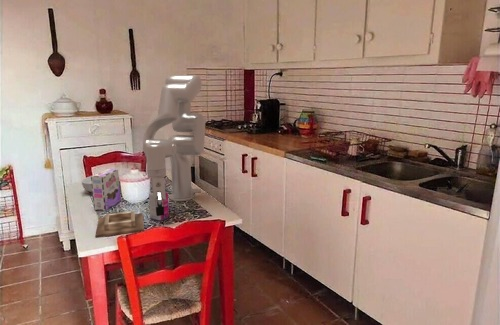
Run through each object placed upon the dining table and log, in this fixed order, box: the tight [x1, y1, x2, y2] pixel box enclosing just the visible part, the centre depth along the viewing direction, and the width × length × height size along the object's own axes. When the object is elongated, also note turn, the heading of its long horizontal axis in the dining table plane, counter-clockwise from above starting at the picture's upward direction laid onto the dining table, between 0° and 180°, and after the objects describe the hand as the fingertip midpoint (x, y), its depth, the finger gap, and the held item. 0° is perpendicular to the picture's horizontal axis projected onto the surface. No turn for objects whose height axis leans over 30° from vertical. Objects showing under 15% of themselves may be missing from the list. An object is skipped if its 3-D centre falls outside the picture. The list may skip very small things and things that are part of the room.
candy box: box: [90, 168, 122, 212], centre depth 174 cm, size 14×6×16 cm, turn 168°
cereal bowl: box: [81, 175, 93, 193], centre depth 196 cm, size 17×17×7 cm
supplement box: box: [148, 191, 170, 222], centre depth 159 cm, size 6×6×12 cm
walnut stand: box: [95, 210, 145, 238], centre depth 152 cm, size 18×18×4 cm
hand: (159, 211), depth 159 cm, fingers closed on supplement box, 7 cm apart
